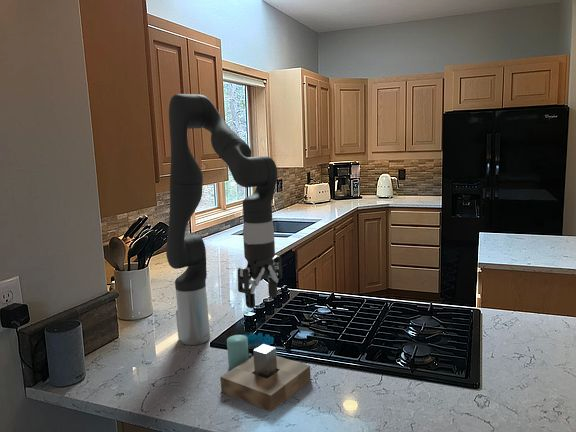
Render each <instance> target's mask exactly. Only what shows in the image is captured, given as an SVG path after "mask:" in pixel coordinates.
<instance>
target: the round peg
mask: <svg viewBox="0 0 576 432" xmlns="http://www.w3.org/2000/svg"><path fill="white" fill-rule="evenodd" d="M226 348H227V361H228V362H227V363H228V369H229V371H231V370H232V369H234V368H235V367H237V366H239V365H240V364H242V363H243V362H245V361H247V360H248V359H250V356H249V348H248V340H247V337H246V336H244V334H234V335H231V336H229V337H228V338H227V339H226Z"/></svg>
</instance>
